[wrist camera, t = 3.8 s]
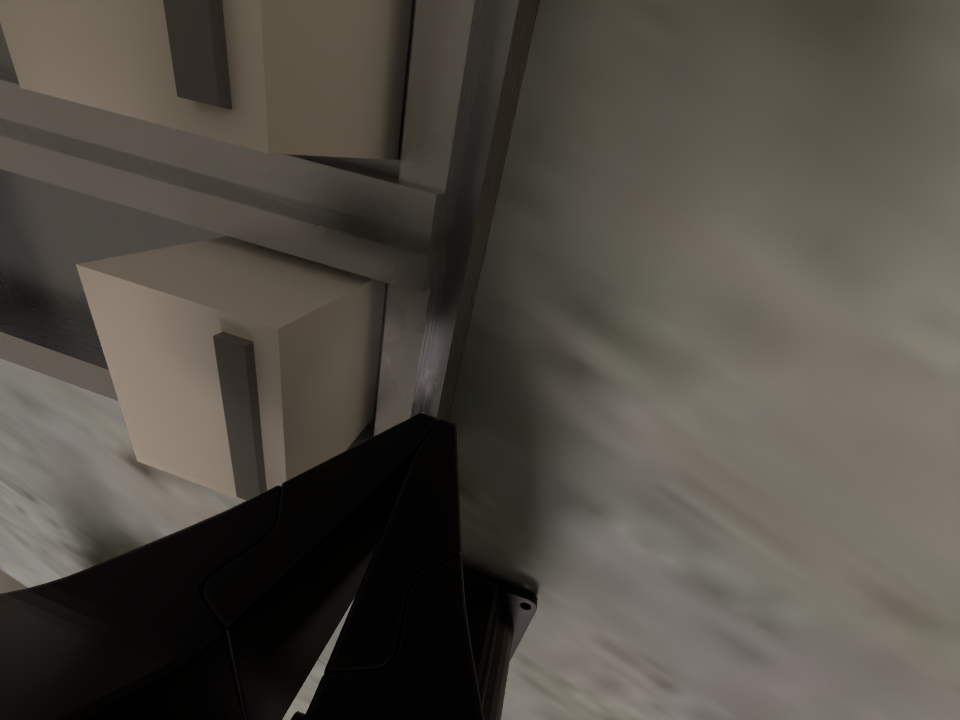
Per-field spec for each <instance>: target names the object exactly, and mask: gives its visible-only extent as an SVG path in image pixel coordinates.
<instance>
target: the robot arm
mask: <svg viewBox="0 0 960 720" xmlns="http://www.w3.org/2000/svg"><path fill="white" fill-rule="evenodd" d="M461 553H462V545H461V522H460V499H459V477H458V454H457V431H456V425H455V424H453V423H451V422H448V421H445V420H441V419H440V420H437V418H436V417H433V416H430V415H427V414H424V413H419V414H417V415H415V416H413V417H411V418H409V419H407V420H405V421H403V422H401V423H399V424H397V425H395V426H393V427H391V428H389V429H387V430H385V431H383V432H381V433H380V434H378V435H376V436H374V437H372V438H370V439H368V440H366V441H364V442H362V443H360V444H358V445H356V446H354V447H352V448H350V449H348V450H346V451H344V452H342V453H340V454H338V455H336V456H334V457H332V458H330V459H328V460H327V461H325V462H323V463H321V464H319V465H317V466H315V467H313V468H311V469H309V470H307V471H305V472H303V473H301V474H299V475H297V476H295V477H293V478H291V479H289V480H287V481H285V482H283V483H282V485H281V486H279V485H277V486H275V487H273V488H271V489H269V490H267V491H265V492H263V493H261V494H259V495H257V496H255V497H253V498H251V499H249V500H247V501H245V502H243V503H241V504H239V505H237V506H235V507H233V508H230V509H228V510H226V511H224V512H222V513H219V514H217V515H215V516H213V517H210V518H208V519H206V520H203V521H201V522H199V523H196V524H194V525H192V526H190V527H187V528H185V529H182V530H180V531H178V532H175V533H173V534H170V535H168V536H165V537H163V538H161V539H158V540H156V541H153V542H151V543H148V544H146V545H144V546H141V547H139V548H136V549H134V550H132V551H129V552H127V553H124V554H122V555H119V556H117V557H115V558H112V559H110V560H107V561H105V562H102V563H100V564H98V565H95V566H93V567H90V568H88V569H85V570H83V571H80V572H78V573H75V574H72V575H70V576H67V577H64V578H61V579H58V580H55V581H52V582H49V583H45V584H42V585H38V586H34V587H30V588H26V589H22V590H17V591H12V592H8V593H2V594H0V720H282V719H283V717H284V715H285V714H286V712H287V710H288V709H289V707H290V705H291V704H292V702H293V700H294V699H295V697H296V695H297V693H298V692H299V690H300V688H301V687H302V685H303V683H304V682H305V680H306V678H307V677H308V675H309V673H310V672H311V670H312V668H313V667H314V665H315V663H316V661H317V660H318V658H319V656H320V655H321V653H322V651H323V650H324V648H325V646H326V645H327V643H328V641H329V640H330V638H331V636H332V635H333V633H334V631H335V629H336V628H337V626H338V624H339V623H340V621H341V619H342V618H343V616H344V614H345V613H346V611H347V609H348V608H349V606H350V604H351V603H352V601H353V599H354V597H355V599H354V601H353V603H352V606H351V608H350V611H349V613H348V615H347V618H346V620H345V623H344V625H343V627H342V630H341V632H340V635H339V637H338V639H337V642H336V644H335V647H334V649H333V651H332V654H331V656H330V659H329V661H328V663H327V666H326V668H325V672H324V675H323V677H322V678H321V681H320V683H319V685H318V688H317V690H316V692H315V695H314V697H313V699H312V701H311V704H310V706H309V708H308V710H307V712H306V714H304V713H301V712H299V711H297V712H296V713H295V714H294V715H293V717H292V718H291V720H501V715H502V708H503V701H504V695H505V688H506V681H507V675H508V668H509V662H510V660H511V658H512V656H513V654H514V652H515V650H516V648H517V646H518V644H519V643H520V641H521V639H522V637H523V635H524V633H525V631H526V629H527V627H528V625H529V623H530V622H531V620H532V618H533V616H534V614H535V612H536V609H537V600H538V598H537V596H536V595H535V594H534V593H532V592H530V591H528V590H525V589H522V588H520V587H517V586H514V585H512V584H509V583H506V582H504V581H501V580H498V579H496V578H493V577H490V576H488V575H485V574H482V573H480V572H477V571H474V570H471V569H469V568H466V567H463V563H462V555H461Z"/></svg>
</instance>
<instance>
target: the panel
mask: <svg viewBox="0 0 960 720" xmlns="http://www.w3.org/2000/svg"><path fill="white" fill-rule="evenodd" d="M538 4H539V0H412V10H411V21H410V31H409V42H408V53H407V63H406V74H405V85H404V96H403V106H402V117H401V128H400V138H399V149H398V160H388V159H369V158H349V157H329V156H309V155H289V154H270V153H265V152H261V151H258V150H254V149H250V148H246V147H242V146H239V145H235V144H231V143H227V142H224V141H220V140H216V139H212V138H208V137H205V136H201V135H197V134H193V133H189V132H186V131H182V130H178V129H174V128H171V127H167V126H163V125H159V124H155V123H152V122H148V121H144V120H140V119H137V118H133V117H129V116H125V115H121V114H118V113H114V112H110V111H106V110H102V109H99V108H95V107H91V106H87V105H84V104H80V103H76V102H72V101H68V100H65V99H61V98H57V97H53V96H49V95H46V94H42V93H38V92H34V91H31V90H27V89H23V88H20V84H19V81H18V78H17V75H16V72H15V68H14V65H13V62H12V59H11V56H10V52H9V49H8V46H7V43H6V40H5V36H4V33H3V30H2V27H1V24H0V358H1V359H4V360H7V361H10V362H12V363H15V364H18V365H21V366H23V367H26V368H29V369H32V370H34V371H37V372H40V373H43V374H46V375H48V376H51V377H54V378H57V379H59V380H62V381H65V382H68V383H70V384H73V385H76V386H79V387H81V388H84V389H87V390H90V391H92V392H95V393H98V394H101V395H104V396H106V397H109V398H112V399H115V400H117V401H118V397H117V394H116V391H115V388H114V385H113V381H112V378H111V375H110V372H109V369H108V365H107V362H106V359H105V356H104V353H103V350H102V346H101V343H100V340H99V337H98V334H97V330H96V327H95V324H94V321H93V318H92V314H91V311H90V308H89V305H88V302H87V298H86V295H85V292H84V289H83V286H82V282H81V279H80V276H79V273H78V270H77V266H76V264H80V263H86V262H91V261H96V260H102V259H107V258H112V257H118V256H123V255H128V254H134V253H139V252H144V251H150V250H155V249H160V248H166V247H171V246H176V245H182V244H187V243H192V242H198V241H203V240H208V239H214V238H219V237H224V236H230V237H233V238H237V239H240V240H243V241H247V242H250V243H253V244H257V245H260V246H264V247H267V248H270V249H274V250H277V251H281V252H284V253H287V254H291V255H294V256H298V257H301V258H304V259H308V260H311V261H315V262H318V263H321V264H325V265H328V266H331V267H335V268H338V269H342V270H345V271H348V272H352V273H355V274H359V275H362V276H365V277H369V278H372V279H376V280H379V281H382V282H386V288H385V298H384V309H383V320H382V330H381V341H380V352H379V362H378V373H377V384H376V394H375V405H374V416H373V419H372V420H371V421H370V422H369V424H368V425H367V426H366V427H365V428H364V430H363V431H362V432H361V433H360V434H359V435H358V437H357V438H356V439H355V440H354V441H353V443H352V444H351V445H350V446H349V447H348V448H347V450H348V449H350V448H352V447H354V446H356V445H358V444H360V443H362V442H364V441H366V440H368V439H370V438H372V437H374V436H376V435H378V434H380V433H381V432H383V431H385V430H387V429H389V428H391V427H393V426H395V425H397V424H399V423H401V422H403V421H405V420H407V419H409V418H411V417H413V416H415V415H417V414H419V413H424V414H427V415H430V416H433V417H436V418H437V420H440V419H441V420H445V421H448V419H449V415H450V410H451V405H452V401H453V396H454V392H455V387H456V382H457V378H458V373H459V369H460V364H461V359H462V355H463V350H464V346H465V341H466V336H467V332H468V327H469V322H470V318H471V313H472V309H473V304H474V299H475V295H476V290H477V286H478V281H479V276H480V272H481V267H482V262H483V258H484V253H485V249H486V244H487V239H488V235H489V230H490V226H491V221H492V216H493V212H494V207H495V202H496V198H497V193H498V189H499V184H500V179H501V175H502V170H503V166H504V161H505V156H506V152H507V147H508V143H509V138H510V133H511V129H512V124H513V119H514V115H515V110H516V106H517V101H518V96H519V92H520V87H521V83H522V78H523V73H524V69H525V64H526V59H527V55H528V50H529V46H530V41H531V36H532V32H533V27H534V23H535V18H536V13H537V9H538Z"/></svg>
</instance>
